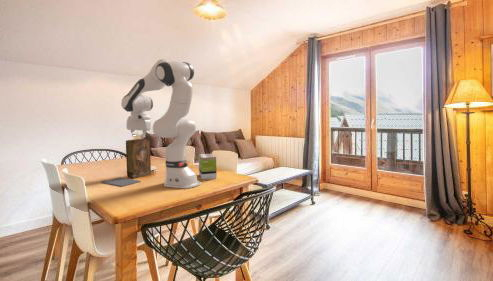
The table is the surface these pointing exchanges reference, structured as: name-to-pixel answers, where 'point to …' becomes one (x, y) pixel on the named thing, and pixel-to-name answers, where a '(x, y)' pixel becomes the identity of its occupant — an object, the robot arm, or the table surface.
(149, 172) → the book
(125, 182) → the mat
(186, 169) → the robot arm
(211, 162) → the tea box
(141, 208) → the table surface
